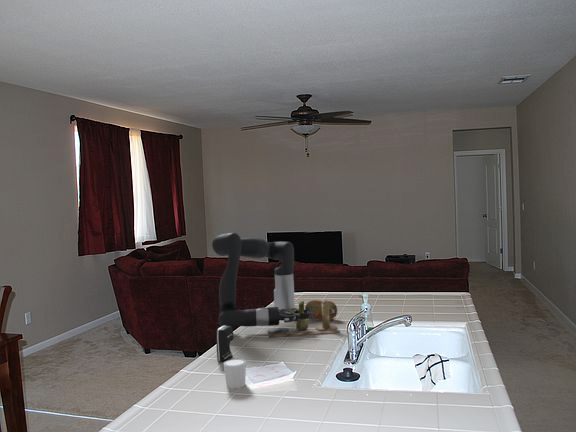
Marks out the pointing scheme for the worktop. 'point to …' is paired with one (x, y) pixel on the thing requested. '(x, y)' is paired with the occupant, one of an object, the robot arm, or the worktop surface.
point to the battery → (224, 342)
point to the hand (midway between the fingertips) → (307, 314)
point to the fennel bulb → (302, 323)
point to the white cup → (235, 373)
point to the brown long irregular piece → (321, 329)
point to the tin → (320, 309)
